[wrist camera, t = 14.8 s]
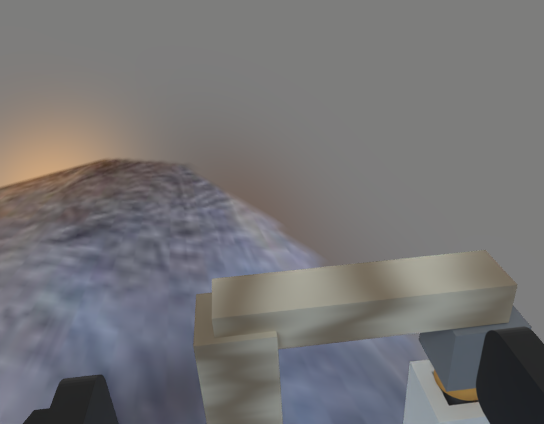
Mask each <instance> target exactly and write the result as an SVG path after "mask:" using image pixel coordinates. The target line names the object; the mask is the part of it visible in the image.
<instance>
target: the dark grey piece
mask: <svg viewBox="0 0 544 424" xmlns="http://www.w3.org/2000/svg"><path fill="white" fill-rule="evenodd" d="M523 326H525V327H528V328H529V329H531V326H530V325H529V323H528V322H527V321H526V320H525V319H524V318H523V316H522V315H521V314H520V313H519V312H518V311H517V309H516V308H515V307H514V306H512V311H511V315H510V319H509V323H500V324H492V325H483V326H475V327H466V328H457V329H449V330H440V331H432V332H423V333H420V336H419V341H420V343H421V345H422V347H423V349H424V351H425V352H426V354H427V356H428V358H429V360H430V362H431V364H432V366H433V367H434V379H435V381H436V383H437V385H438V386H439V387H440V388H441V389H442V390H443V395H444V397H445V399H446V401H447V403H448V405H449V406H450V405H458V404H466V403H474V401H475V400H478V397H477V393H476V378H477V373H478V368H479V363H480V358H481V353H482V348H483V344H484V339H485V335H486V333H487V332H488V331H490V330H497V329H506V328H514V327H523Z"/></svg>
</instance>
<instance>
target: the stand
mask: <svg viewBox="0 0 544 424" xmlns="http://www.w3.org/2000/svg"><path fill="white" fill-rule="evenodd" d="M516 289H517V284H516V283H515V282H514V281H513V279H512V278H511V277H510V276H509V275H508V274H507V273H506V272H505V271H504V270H503V269H502V268H501V267H500V265H499V264H498V263H497V262H496V261H495V260H494V259H493V258H492V257H491V256H490V255H489V253H488V252H487V251H486V250H481V251H471V252H462V253H453V254H443V255H435V256H425V257H415V258H405V259H396V260H386V261H377V262H367V263H358V264H348V265H339V266H329V267H320V268H310V269H301V270H291V271H282V272H272V273H263V274H253V275H244V276H234V277H225V278H216V279H212V293H204V294H196V309H195V327H194V345H193V347H194V353H195V358H196V364H197V370H198V375H199V381H200V387H201V393H202V398H203V404H204V410H205V415H206V421H207V424H283V419H282V403H281V388H280V372H279V357H278V349H286V348H294V347H303V346H311V345H320V344H328V343H337V342H346V341H354V340H363V339H371V338H380V337H389V336H397V335H406V334H414V333H423V332H432V331H440V330H449V329H457V328H466V327H475V326H483V325H492V324H500V323H509V319H510V315H511V311H512V306H513V302H514V298H515V293H516Z"/></svg>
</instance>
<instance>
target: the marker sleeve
mask: <svg viewBox="0 0 544 424" xmlns="http://www.w3.org/2000/svg"><path fill="white" fill-rule="evenodd" d="M403 424H490V423H489V421H488V419H487V418H486V416H485V414H484V413H483V411H482V409H481V406H480V404H479V401H478V400H475V401H474V403H466V404H458V405H450V406H449V405H448V403H447V401H446V399H445V397H444V395H443V390H442V389H441V388H440V387H439V386H438V385H437V383H436V381H435V379H434V367H433V366H432V364H431V362H430V360H429V359H428V360H420V361H411V362H410V365H409V374H408V383H407V392H406V401H405V410H404V419H403Z"/></svg>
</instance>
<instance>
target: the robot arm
mask: <svg viewBox="0 0 544 424" xmlns="http://www.w3.org/2000/svg"><path fill="white" fill-rule="evenodd" d="M476 393H477V397H478V401H479V404H480V406H481V409H482V411H483V413H484V414H485V416H486V418H487V419H488V421H489V423H490V424H544V344H543V343H542V341H541V340H540V339H539V338H538V337H537V336H536V334H535V333H534V332H533V331H532V330H531V329H529V328H528V327H525V326H523V327H514V328H506V329H497V330H490V331H488V332H487V333H486V335H485V339H484V344H483V348H482V353H481V358H480V363H479V368H478V373H477V378H476ZM23 424H119V423H118V420H117V417H116V413H115V410H114V407H113V403H112V400H111V397H110V393H109V390H108V387H107V384H106V380H105V378H104V376H103V375H92V376H83V377H75V378H66V379H63V380H61V382H60V383H59V385H58V387H57V390H56V393H55V395H54V398H53V401H52V404H51V406H50V408H49V409H40V410H34V411H33V412H32V413H31V414H30V416H29V417H28V418H27V419H26V420H25V422H24V423H23Z"/></svg>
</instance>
